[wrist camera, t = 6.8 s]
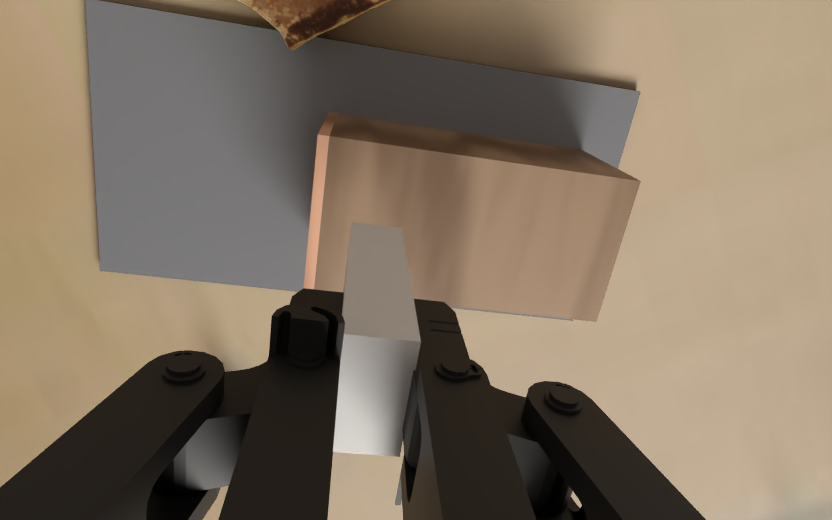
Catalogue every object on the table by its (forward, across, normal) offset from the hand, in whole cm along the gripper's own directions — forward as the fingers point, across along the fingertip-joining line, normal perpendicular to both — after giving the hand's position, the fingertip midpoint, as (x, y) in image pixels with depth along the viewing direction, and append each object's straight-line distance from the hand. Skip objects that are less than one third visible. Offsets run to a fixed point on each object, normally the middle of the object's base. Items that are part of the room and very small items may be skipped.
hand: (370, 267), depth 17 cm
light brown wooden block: (+7, -2, 0) cm, 7 cm away
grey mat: (+11, 0, 0) cm, 11 cm away
